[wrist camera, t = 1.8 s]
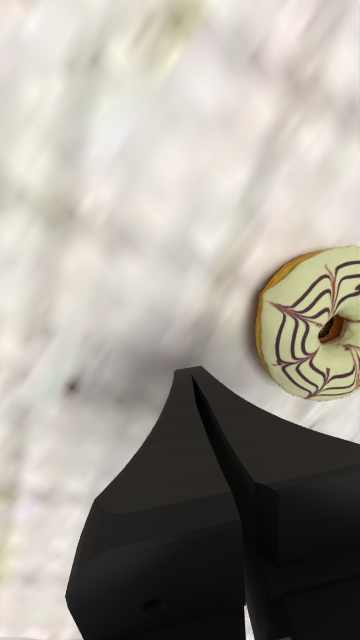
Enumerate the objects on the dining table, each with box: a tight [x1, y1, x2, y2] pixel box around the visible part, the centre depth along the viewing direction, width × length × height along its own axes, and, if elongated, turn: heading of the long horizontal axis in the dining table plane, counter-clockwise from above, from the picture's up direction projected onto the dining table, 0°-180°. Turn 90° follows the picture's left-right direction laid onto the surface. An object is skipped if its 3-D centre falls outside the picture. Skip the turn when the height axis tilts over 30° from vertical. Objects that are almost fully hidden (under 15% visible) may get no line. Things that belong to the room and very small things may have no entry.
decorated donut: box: [255, 245, 360, 402], centre depth 15 cm, size 10×11×4 cm
